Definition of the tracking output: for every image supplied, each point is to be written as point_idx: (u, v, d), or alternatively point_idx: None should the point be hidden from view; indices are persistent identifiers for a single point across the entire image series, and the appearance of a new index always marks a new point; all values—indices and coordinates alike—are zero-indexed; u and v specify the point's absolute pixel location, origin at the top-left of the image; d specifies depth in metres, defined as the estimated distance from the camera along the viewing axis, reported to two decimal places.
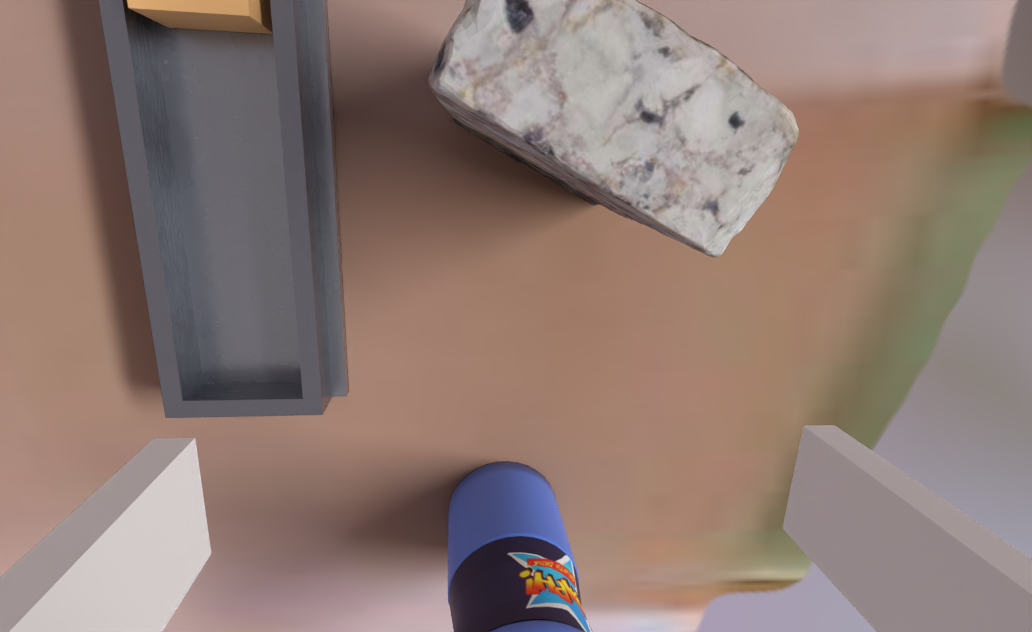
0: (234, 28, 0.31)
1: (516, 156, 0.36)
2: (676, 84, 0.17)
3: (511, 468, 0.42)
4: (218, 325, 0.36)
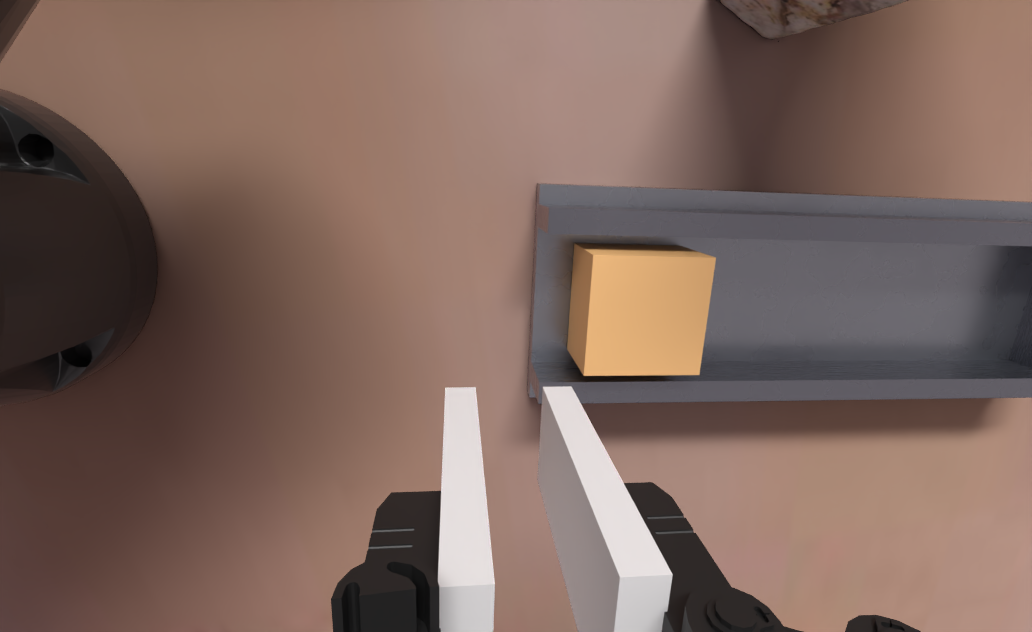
0: None
1: None
2: None
3: None
4: (954, 338, 0.33)
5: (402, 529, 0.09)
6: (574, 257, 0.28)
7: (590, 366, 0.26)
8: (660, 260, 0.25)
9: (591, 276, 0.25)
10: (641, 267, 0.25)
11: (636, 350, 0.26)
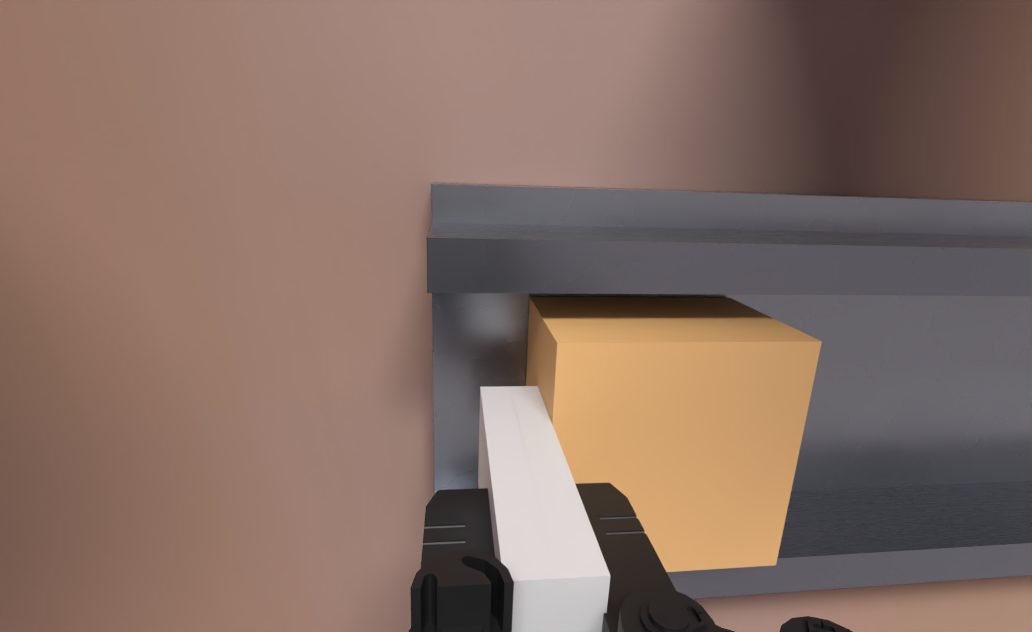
0: None
1: None
2: None
3: None
4: None
5: (454, 525, 0.09)
6: (530, 324, 0.15)
7: None
8: (705, 349, 0.11)
9: (554, 387, 0.11)
10: (661, 367, 0.11)
11: (651, 527, 0.13)
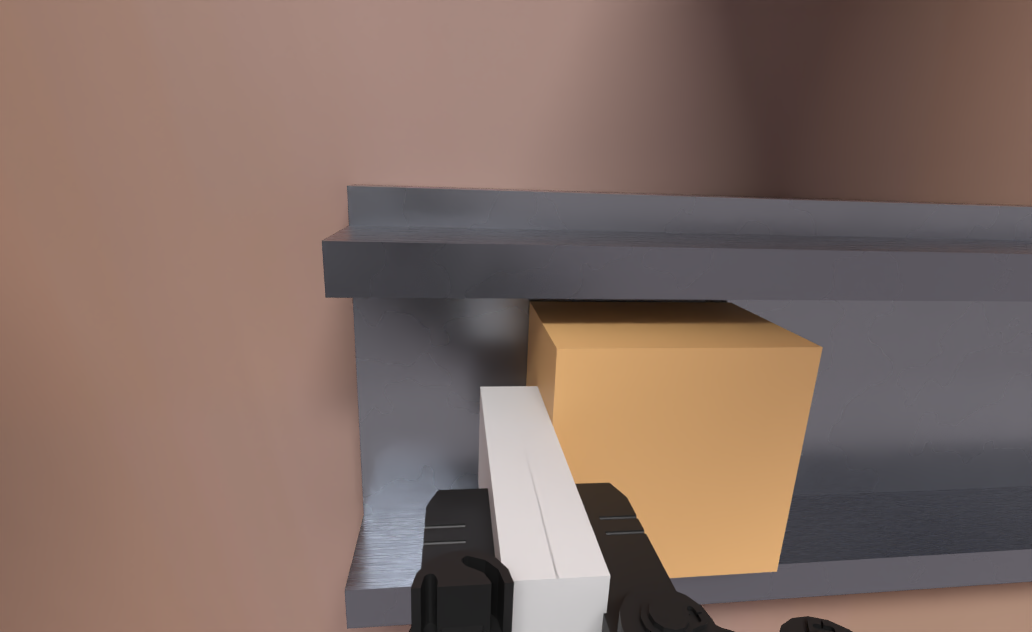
0: None
1: None
2: None
3: None
4: None
5: (454, 526, 0.09)
6: (530, 329, 0.15)
7: None
8: (704, 355, 0.11)
9: (554, 393, 0.11)
10: (662, 372, 0.11)
11: (652, 533, 0.12)
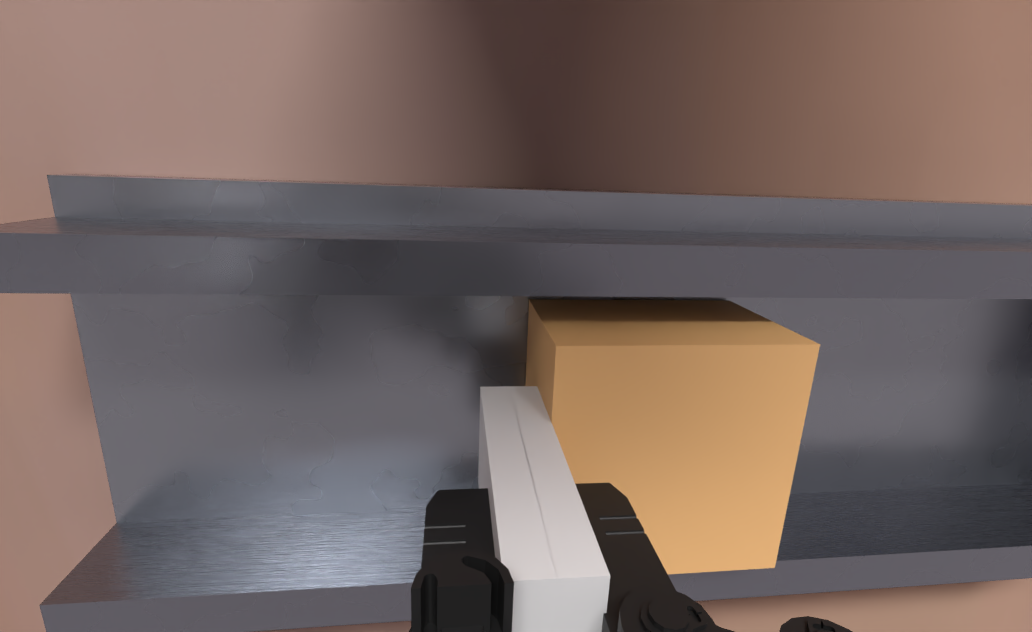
0: None
1: None
2: None
3: None
4: (942, 450, 0.18)
5: (454, 525, 0.09)
6: (529, 326, 0.15)
7: None
8: (703, 352, 0.11)
9: (553, 389, 0.11)
10: (660, 369, 0.11)
11: (650, 530, 0.13)
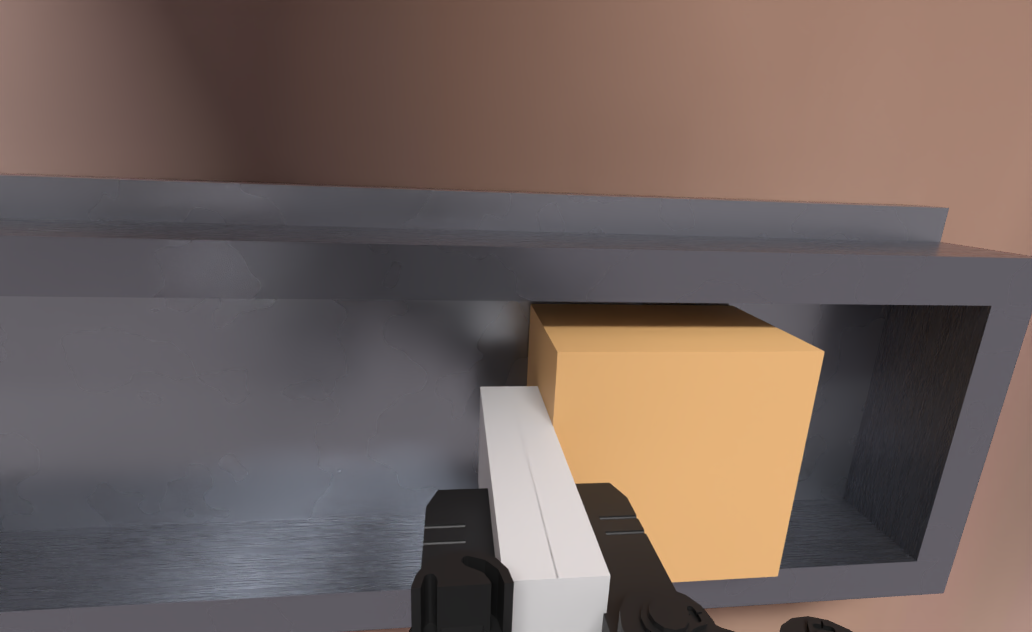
0: None
1: None
2: None
3: None
4: None
5: (454, 525, 0.09)
6: (530, 331, 0.15)
7: None
8: (706, 359, 0.11)
9: (554, 396, 0.11)
10: (663, 376, 0.11)
11: (652, 538, 0.12)
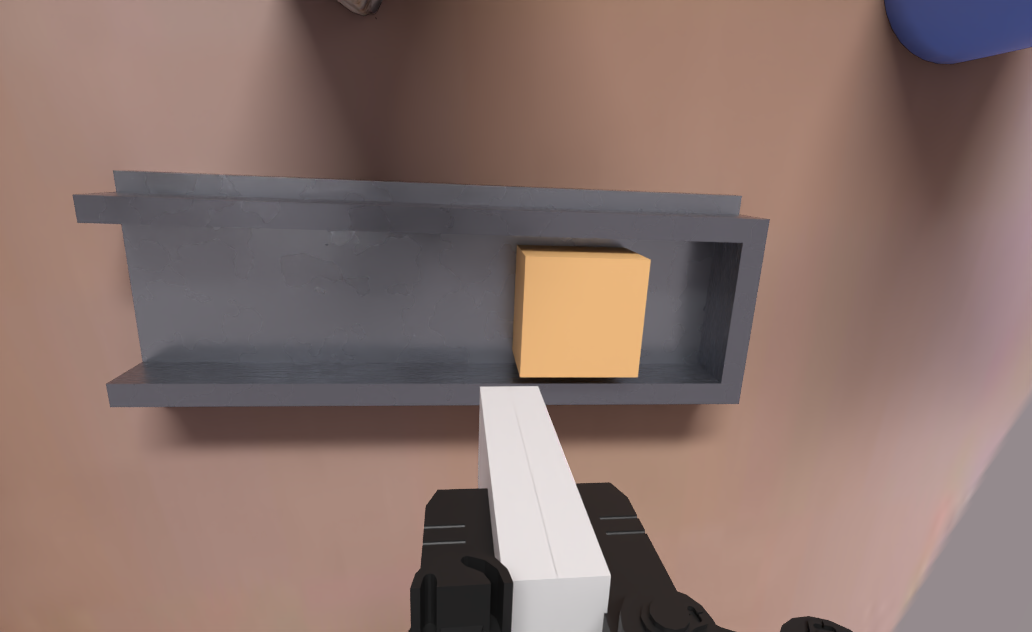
0: None
1: None
2: None
3: None
4: None
5: (453, 525, 0.09)
6: (516, 258, 0.28)
7: (526, 367, 0.26)
8: (594, 261, 0.25)
9: (524, 277, 0.25)
10: (574, 269, 0.25)
11: (573, 352, 0.26)
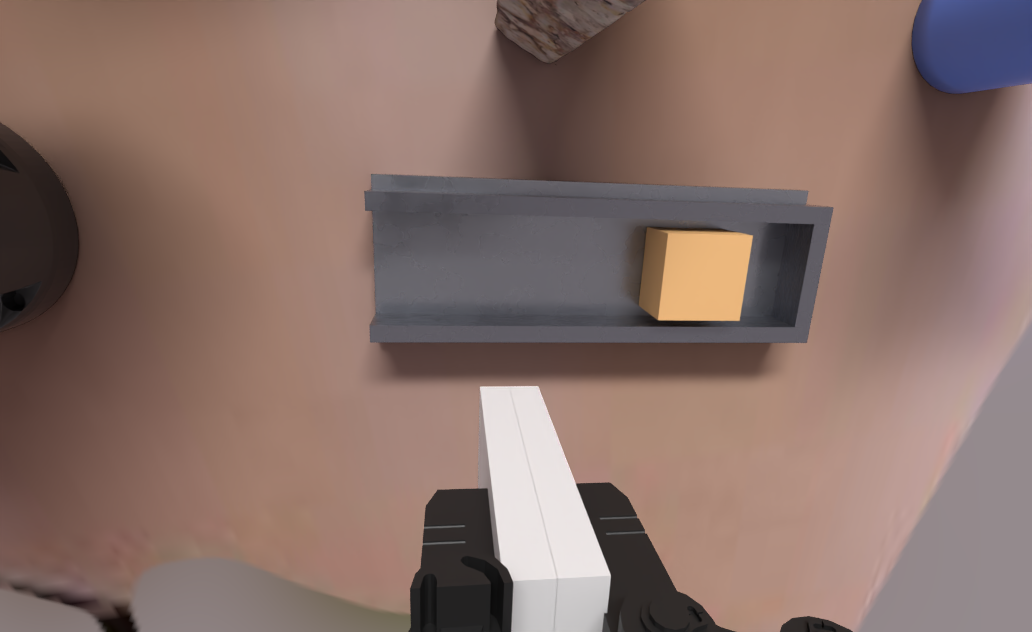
0: None
1: None
2: None
3: (928, 11, 0.37)
4: None
5: (453, 525, 0.09)
6: (647, 237, 0.38)
7: (662, 313, 0.36)
8: (714, 237, 0.35)
9: (666, 248, 0.35)
10: (700, 242, 0.35)
11: (695, 302, 0.36)
